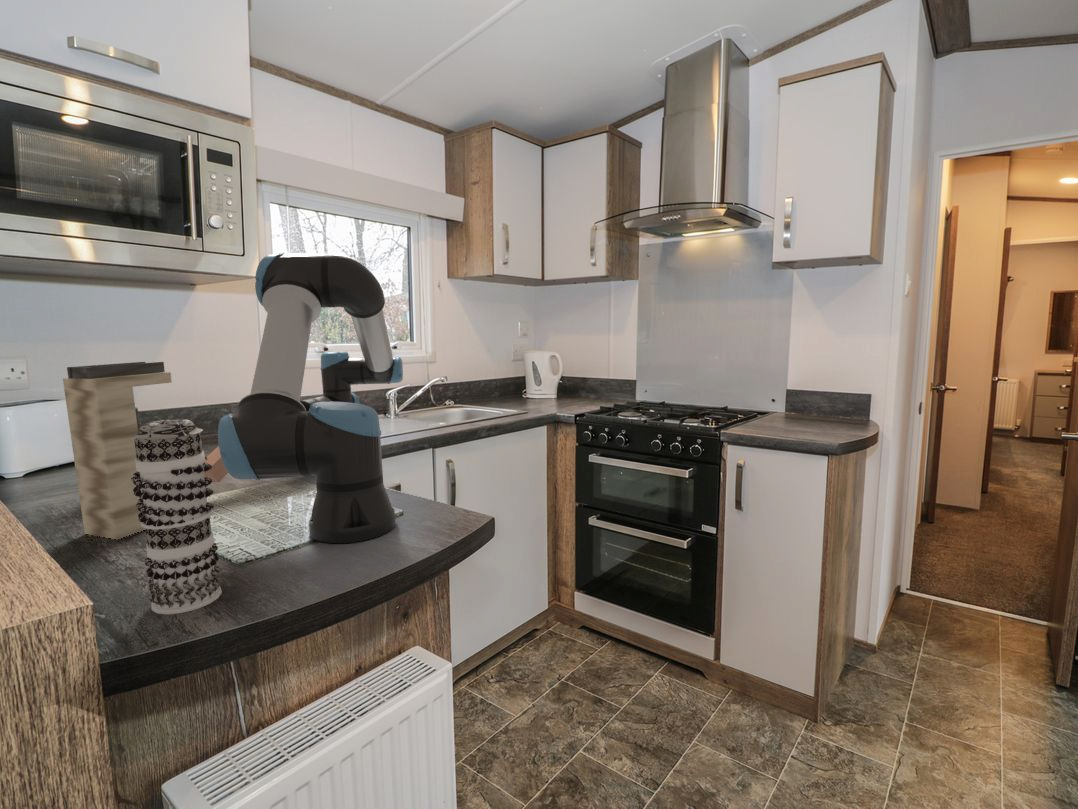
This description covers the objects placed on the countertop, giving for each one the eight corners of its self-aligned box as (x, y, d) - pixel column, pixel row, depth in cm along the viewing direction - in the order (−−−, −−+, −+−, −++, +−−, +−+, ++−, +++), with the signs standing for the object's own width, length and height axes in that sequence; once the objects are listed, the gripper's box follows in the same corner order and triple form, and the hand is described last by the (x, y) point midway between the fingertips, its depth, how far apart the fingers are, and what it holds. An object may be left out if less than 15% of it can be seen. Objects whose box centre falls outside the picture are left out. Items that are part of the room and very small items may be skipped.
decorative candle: (228, 579, 86) (210, 414, 82) (221, 606, 77) (201, 424, 74) (156, 591, 82) (134, 419, 78) (140, 622, 74) (115, 430, 70)
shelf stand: (186, 515, 115) (169, 361, 111) (117, 540, 103) (94, 367, 98) (156, 511, 118) (137, 361, 114) (84, 534, 106) (61, 367, 102)
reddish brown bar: (276, 423, 139) (268, 410, 137) (218, 482, 125) (208, 469, 122) (264, 422, 141) (256, 409, 138) (205, 480, 126) (195, 467, 124)
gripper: (339, 427, 151) (269, 446, 129) (289, 424, 157) (214, 442, 135) (337, 399, 150) (266, 413, 128) (287, 397, 156) (210, 411, 134)
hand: (239, 428), depth 132 cm, fingers closed on reddish brown bar, 4 cm apart
